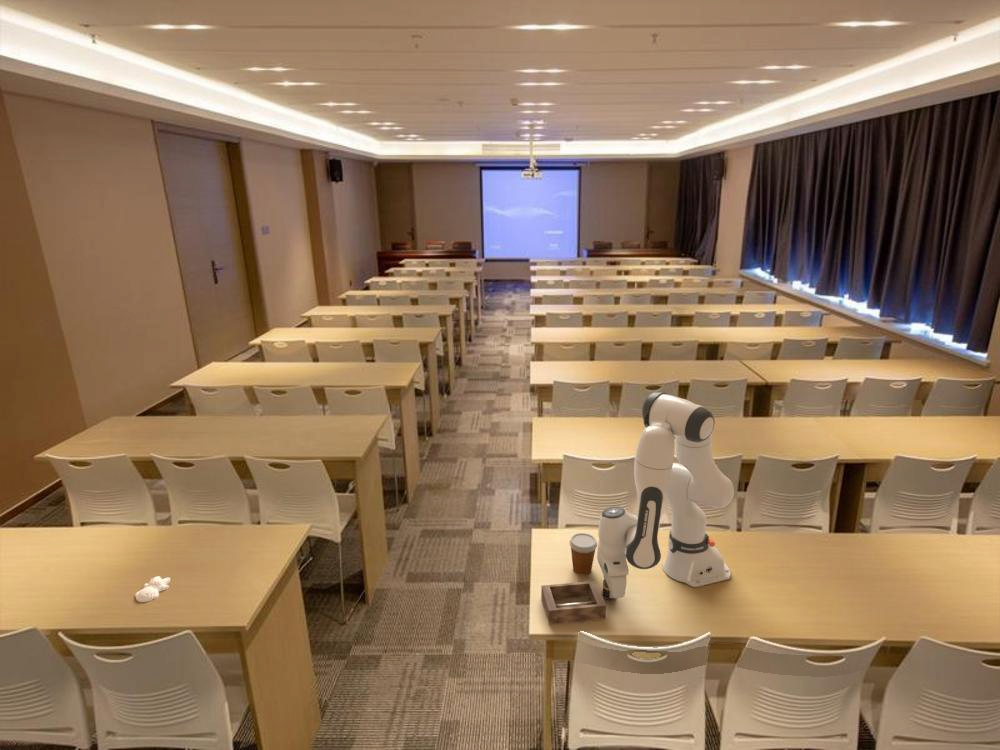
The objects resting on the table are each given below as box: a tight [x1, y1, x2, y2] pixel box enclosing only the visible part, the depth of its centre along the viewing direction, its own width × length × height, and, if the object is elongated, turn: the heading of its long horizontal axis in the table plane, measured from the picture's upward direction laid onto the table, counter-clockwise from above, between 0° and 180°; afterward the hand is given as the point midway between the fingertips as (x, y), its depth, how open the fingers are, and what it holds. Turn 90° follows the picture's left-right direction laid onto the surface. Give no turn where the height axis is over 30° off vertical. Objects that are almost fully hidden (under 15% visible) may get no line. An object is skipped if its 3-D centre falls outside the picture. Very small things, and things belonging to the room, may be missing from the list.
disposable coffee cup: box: [568, 532, 598, 576], centre depth 210 cm, size 10×10×12 cm
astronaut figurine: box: [134, 575, 171, 603], centre depth 202 cm, size 9×12×3 cm
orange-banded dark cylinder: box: [601, 578, 615, 600], centre depth 197 cm, size 4×4×5 cm
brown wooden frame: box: [540, 580, 607, 625], centre depth 192 cm, size 18×12×5 cm, turn 97°
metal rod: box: [555, 600, 596, 608], centre depth 189 cm, size 15×1×1 cm, turn 97°
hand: (609, 590), depth 197 cm, fingers closed on orange-banded dark cylinder, 4 cm apart
